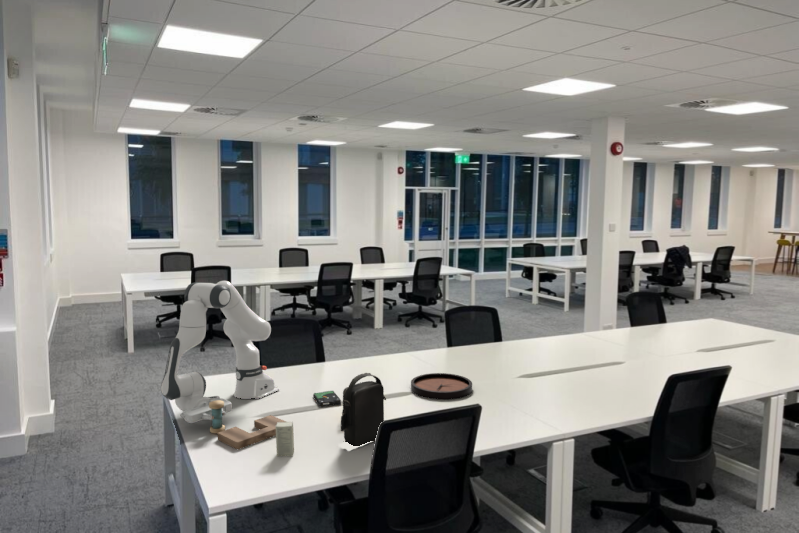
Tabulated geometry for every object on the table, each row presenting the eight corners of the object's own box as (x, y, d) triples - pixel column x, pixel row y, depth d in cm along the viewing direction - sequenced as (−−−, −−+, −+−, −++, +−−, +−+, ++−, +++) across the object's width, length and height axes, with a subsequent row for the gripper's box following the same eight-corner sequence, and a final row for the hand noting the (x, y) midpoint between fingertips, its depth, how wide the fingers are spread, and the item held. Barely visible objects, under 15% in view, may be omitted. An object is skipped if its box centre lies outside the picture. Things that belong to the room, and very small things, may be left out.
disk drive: (341, 405, 279) (333, 395, 292) (341, 400, 278) (333, 389, 292) (320, 408, 275) (312, 397, 289) (320, 402, 275) (312, 392, 288)
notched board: (270, 421, 257) (270, 415, 257) (290, 430, 248) (290, 423, 247) (217, 439, 238) (217, 432, 237) (237, 449, 228) (237, 442, 228)
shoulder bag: (348, 452, 227) (348, 382, 223) (333, 445, 233) (333, 377, 230) (390, 436, 242) (391, 370, 239) (376, 429, 249) (376, 365, 245)
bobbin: (220, 426, 250) (218, 399, 248) (227, 430, 246) (226, 402, 244) (207, 430, 245) (206, 403, 244) (215, 434, 241) (213, 406, 240)
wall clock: (441, 369, 323) (485, 383, 299) (441, 376, 323) (484, 390, 300) (398, 381, 302) (441, 396, 279) (398, 388, 303) (441, 405, 279)
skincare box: (294, 451, 227) (293, 421, 226) (292, 456, 223) (292, 426, 221) (278, 451, 227) (277, 421, 225) (276, 457, 222) (275, 426, 221)
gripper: (177, 407, 245) (194, 415, 236) (221, 394, 260) (238, 402, 251) (178, 421, 246) (195, 430, 237) (221, 408, 261) (239, 416, 252)
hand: (218, 415), depth 244 cm, fingers closed on bobbin, 4 cm apart
